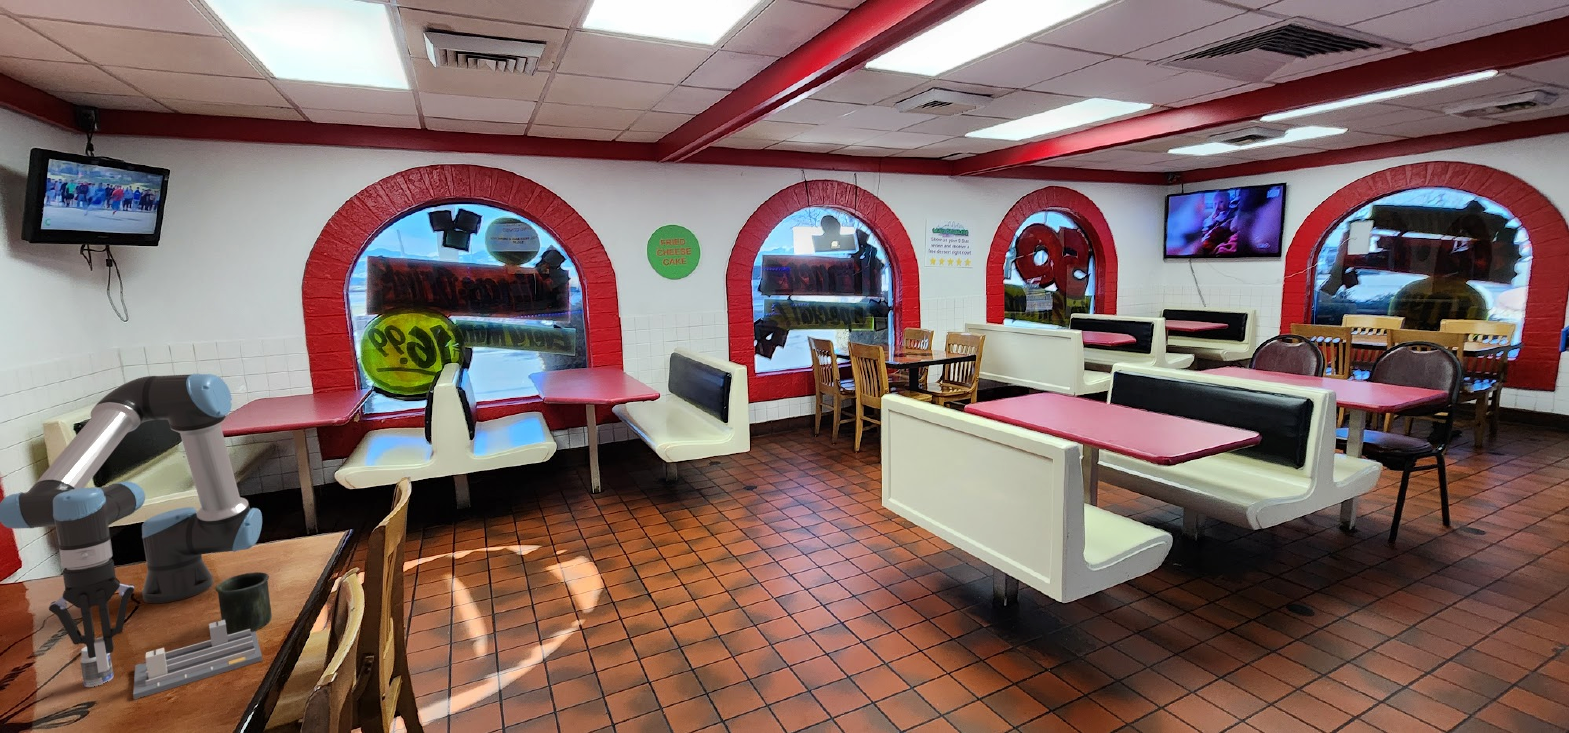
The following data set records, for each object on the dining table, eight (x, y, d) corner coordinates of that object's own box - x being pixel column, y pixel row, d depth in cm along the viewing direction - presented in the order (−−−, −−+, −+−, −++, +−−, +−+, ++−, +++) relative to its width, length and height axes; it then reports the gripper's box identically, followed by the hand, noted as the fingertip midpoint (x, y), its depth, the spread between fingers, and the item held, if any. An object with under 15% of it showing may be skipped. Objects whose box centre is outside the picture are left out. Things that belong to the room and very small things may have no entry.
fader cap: (149, 675, 153) (145, 652, 152) (167, 670, 155) (164, 647, 154) (149, 681, 151) (145, 657, 150) (167, 676, 153) (164, 652, 152)
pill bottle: (110, 683, 153) (105, 648, 152) (81, 690, 150) (75, 654, 149) (116, 673, 157) (111, 638, 156) (87, 679, 154) (82, 644, 153)
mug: (221, 641, 170) (215, 595, 168) (220, 619, 181) (214, 575, 179) (275, 626, 177) (270, 582, 175) (271, 606, 188) (266, 564, 186)
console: (136, 669, 158) (131, 642, 157) (256, 635, 172) (252, 610, 171) (133, 699, 147) (129, 670, 146) (262, 660, 161) (259, 633, 160)
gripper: (40, 578, 136) (57, 688, 139) (130, 559, 145) (144, 664, 148) (44, 566, 142) (61, 673, 145) (131, 549, 151) (145, 650, 154)
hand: (103, 668), depth 146 cm, fingers closed
